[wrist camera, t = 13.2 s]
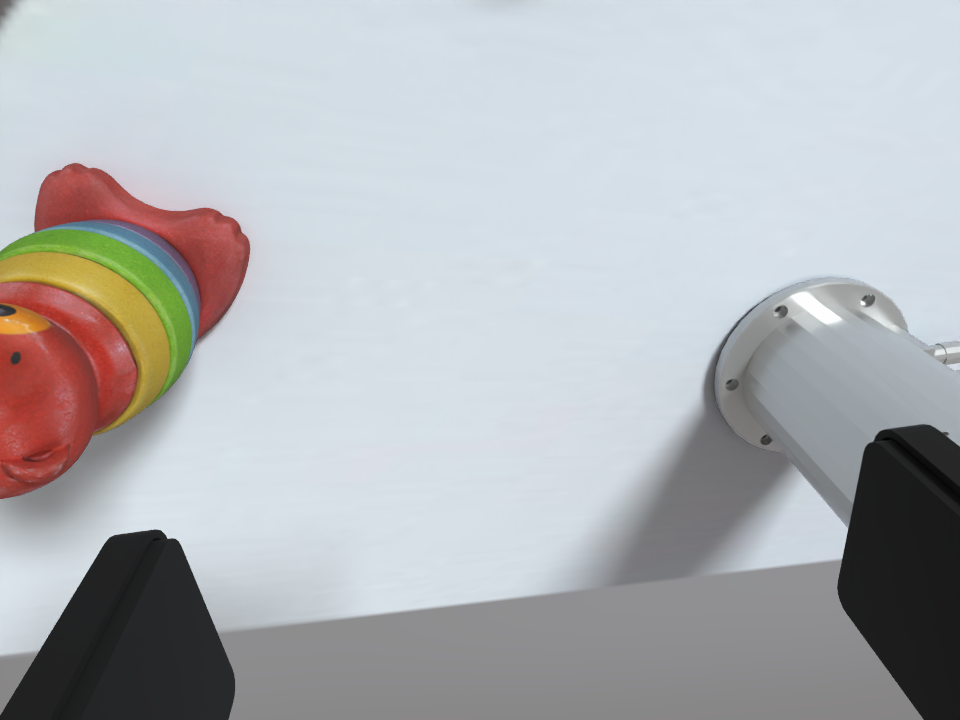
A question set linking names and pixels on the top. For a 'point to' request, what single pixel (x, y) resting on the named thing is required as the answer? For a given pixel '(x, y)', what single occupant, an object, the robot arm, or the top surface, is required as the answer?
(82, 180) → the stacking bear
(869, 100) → the top surface
